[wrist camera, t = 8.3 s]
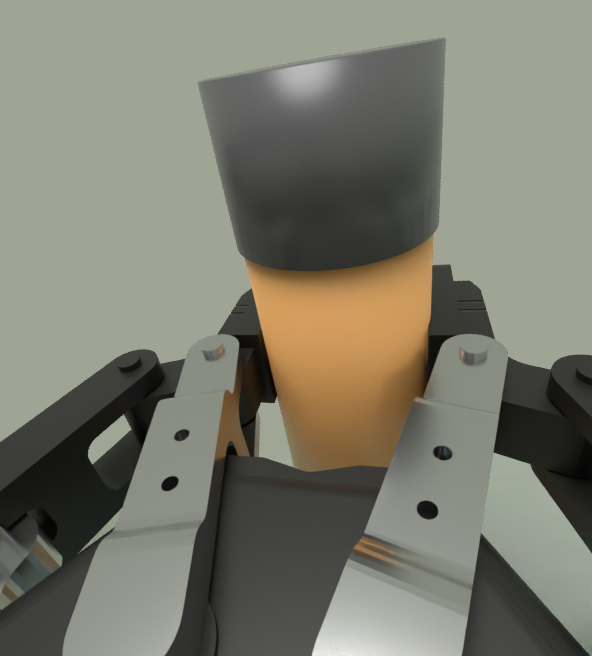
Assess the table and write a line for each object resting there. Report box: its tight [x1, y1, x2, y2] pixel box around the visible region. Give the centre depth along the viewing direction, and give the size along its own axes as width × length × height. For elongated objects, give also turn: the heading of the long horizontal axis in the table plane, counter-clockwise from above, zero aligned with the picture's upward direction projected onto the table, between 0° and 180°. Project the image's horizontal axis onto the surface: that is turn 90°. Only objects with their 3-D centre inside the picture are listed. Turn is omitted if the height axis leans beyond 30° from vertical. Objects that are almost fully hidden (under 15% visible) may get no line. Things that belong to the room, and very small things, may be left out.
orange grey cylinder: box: [198, 38, 446, 472], centre depth 11 cm, size 4×4×14 cm
